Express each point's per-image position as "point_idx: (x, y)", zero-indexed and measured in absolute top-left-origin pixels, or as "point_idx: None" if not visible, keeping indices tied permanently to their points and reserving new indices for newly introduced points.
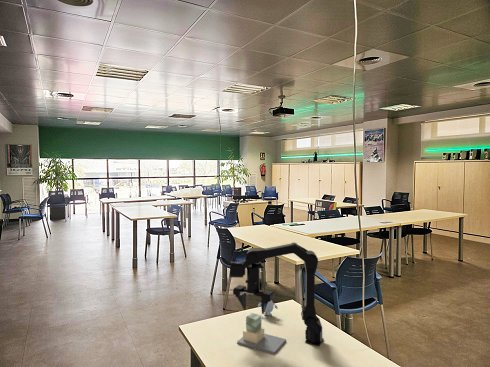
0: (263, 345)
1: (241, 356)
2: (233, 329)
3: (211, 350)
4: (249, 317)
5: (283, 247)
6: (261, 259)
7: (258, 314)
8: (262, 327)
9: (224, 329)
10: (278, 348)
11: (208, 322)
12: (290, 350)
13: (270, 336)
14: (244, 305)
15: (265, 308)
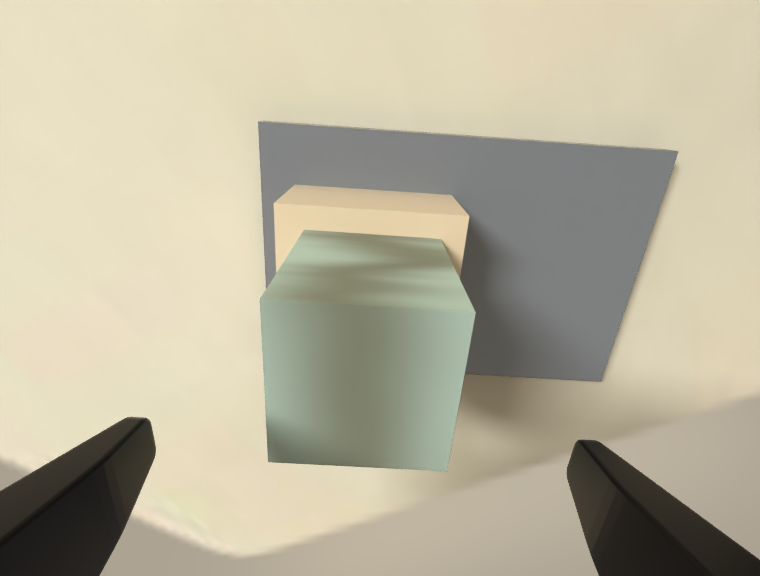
0: (494, 336)
1: None
2: (76, 146)
3: (175, 476)
4: (324, 454)
5: None
6: None
7: (416, 309)
8: (446, 217)
9: (3, 186)
10: (618, 312)
11: None
12: (711, 277)
13: (510, 167)
14: (84, 561)
15: (712, 545)
